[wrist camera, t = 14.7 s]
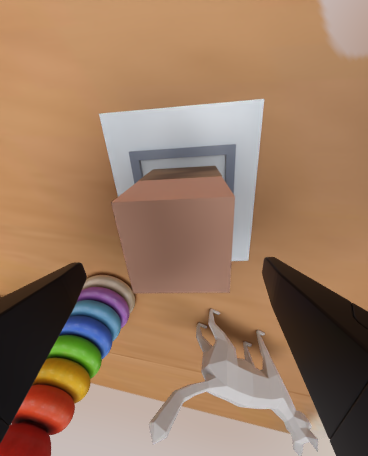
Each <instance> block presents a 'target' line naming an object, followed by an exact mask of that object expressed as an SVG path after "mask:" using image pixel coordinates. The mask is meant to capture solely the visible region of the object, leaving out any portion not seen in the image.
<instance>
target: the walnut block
mask: <svg viewBox="0 0 368 456" xmlns="http://www.w3.org/2000/svg"><path fill="white" fill-rule="evenodd" d="M217 176H222V175H221V173H220V172H219V170H218V169H217V167H216V166H200V167H183V168H167V169H153V170H151V171H150V172H149V173H147V174H146V175H145V176H144V177H142V178H141V179H140V180H139V181H144V180H162V179H180V178H198V177H217Z"/></svg>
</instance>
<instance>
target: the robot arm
mask: <svg viewBox="0 0 368 456" xmlns="http://www.w3.org/2000/svg"><path fill="white" fill-rule="evenodd" d="M262 275H263V279H264V282H265V286H266V289H267V292H268V295H269V299H270V302H271V305H272V308H273V310H274V313H275V315H276V317H277V320H278V322H279V324H280V326H281V329H282V331H283V333H284V336H285V338H286V340H287V343H288V345H289V347H290V350H291V352H292V354H293V357H294V359H295V361H296V363H297V366H298V368H299V370H300V373H301V375H302V377H303V380H304V382H305V384H306V387H307V389H308V391H309V394H310V396H311V398H312V400H313V403H314V405H315V407H316V410H317V412H318V414H319V417H320V419H321V421H322V424H323V426H324V428H325V431H326V433H327V435H328V437H329V439H330V442H331V445H332V447H333V449H334V452H335V454H336V456H368V311H366V310H364V309H362V308H361V307H359V306H357V305H356V304H354V303H351V302H350V301H349V300H347V299H345V298H344V297H342V296H340V295H338V294H337V293H335V292H333V291H331V290H330V289H328V288H326V287H325V286H323V285H321V284H319V283H318V282H316V281H314V280H313V279H311V278H309V277H307V276H306V275H304V274H302V273H301V272H299V271H297V270H295V269H294V268H292V267H290V266H288V265H287V264H285V263H283V262H282V261H280V260H278V259H276V258H275V257H266V258H265V259H264V263H263V270H262ZM86 278H87V276H86V273H85V270H84V267H83V265H82V263H71V264H69V265H67V266H65V267H63V268H61V269H59V270H57V271H55V272H53V273H51V274H48V275H46V276H44V277H42V278H40V279H38V280H36V281H34V282H32V283H30V284H28V285H26V286H24V287H22V288H20V289H18V290H16V291H14V292H12V293H10V294H8V295H6V296H4V297H2V298H0V443H1V442H2V440H3V438H4V436H5V434H6V432H7V431H8V429H9V427H10V426H9V425H11V423H12V421H13V419H14V417H15V416H16V414H17V412H18V410H19V408H20V406H21V405H22V403H23V401H24V399H25V397H26V395H27V394H28V392H29V390H30V388H31V386H32V384H33V383H34V381H35V379H36V377H37V375H38V373H39V372H40V370H41V368H42V366H43V364H44V362H45V361H46V359H47V357H48V355H49V353H50V351H51V350H52V348H53V346H54V344H55V342H56V340H57V339H58V337H59V335H60V333H61V331H62V329H63V328H64V326H65V324H66V322H67V320H68V318H69V317H70V315H71V313H72V311H73V309H74V307H75V305H76V303H77V300H78V298H79V296H80V293H81V291H82V289H83V286H84V284H85V282H86Z"/></svg>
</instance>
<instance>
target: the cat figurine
mask: <svg viewBox="0 0 368 456" xmlns="http://www.w3.org/2000/svg"><path fill="white" fill-rule="evenodd" d="M213 313H215V314H218V315H219V314H220V312H218V311H216V310H214V309H210V311H209V321H208V324H209V326H210V328H211V331H212V333H213V335H214V337H215V339H216V341H215V344H214V345H213V347H212V345H211V344H210V343H209V342H208V341H207V340H206V339H205V338H204V337H203V336H202V333H201V329H200V326H201V327H203V328H207V326H206V325H204V324H201V323H198V324H197V330H196V338H197V340H198V342H199V345H200V347H201V349H202V351H203V360H202V370H201V371H202V374H203V376H204V379H205V382H200V383H195V384H190V385H187V386H184V387H182V388H180V389H178V390H175V391H174V392H173V393H172V394H171V395H170V397H169V398H168V399H167V400H166V402H165V403H164V404H163V405H162V407H161V408H160V409H159V411H158V412H157V413H156V415H155V416H154V417H153V419H152V420H151V422H150V423H149V428H150V432H151V437H152V442H153V444H155V443H157V442H159V441H161V440H163V439H165V438H167V436H168V434H169V431H170V429H171V427H172V425H173V423H174V421H175V419H176V417H177V415H178V412H179V410H180V408H181V406H182V404H183V403H184V402H185V401H187V400H188V399H190V398H191V397H193V396H195V395H198V394H201V393H203V392H208V393H210V394H212V395H214V396H217V397H219V398H221V399H224V400H226V401H228V402H230V403H232V404H234V405H236V406H238V407H246V408H255V409H272V410H273V411H274V412H275V413H276V414H277V415H278V416H279V417H280V418H281V419H282V420H283V421H284V423H285V426H286V428H287V430H288V431H289V432H290V433H291V436H292V440H293V449H294V450H295V452H296V453H297V454H298V455H299V456H302V450H303V444H305V443H307V442H310V443H311V444H312V445H313V447H314V448H315V449H316V451H318V439H317V438H316V437H315V436H314V434H313V433H312V432H311V431H310V429H311V427H312V426H311V424H310V422H309V420H308V419H307V417H306V416H305V415H304V414H303V413H302V412H300V411H296V409H295V407H294V404H293V402H292V400H291V398H290V395H289V393H288V391H287V389H286V387H285V385H284V383H283V381H282V379H281V377H280V375H279V373H278V371H277V369H276V367H275V365H274V363H273V361H272V359H271V357H270V354H269V352H268V350H267V348H266V346H265V344H264V342H263V340H262V337H261V335H265V333H264V332H262V331H259V330H257V331H256V334H257V339H258V344H259V348H260V352H261V355H262V357H263V370H259V369H257V368H256V367H255V366H254V363H253V361H252V358H251V356H250V353H249V350H248V348H247V346H251V345H252V344H250V343H248V342H246V341H245V342H243V347H244V355H245V360H244V359H240V358H237V356H236V349H235V347H234V346H233V344H232V343H231V341H230V340H229V338H228V337H227V336H226V334H225V333H224V332H223V331H222V330H221V329H220V328H219V327H218V326H217V325H216V324H215V322H214V316H213Z"/></svg>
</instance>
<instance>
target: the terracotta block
mask: <svg viewBox="0 0 368 456" xmlns="http://www.w3.org/2000/svg"><path fill="white" fill-rule="evenodd" d="M111 204H112V209H113V213H114V217H115V221H116V225H117V229H118V233H119V237H120V241H121V245H122V249H123V253H124V257H125V262H126V266H127V270H128V274H129V278H130V282H131V286H132V290H133V293H230V278H231V260H232V243H233V225H234V207H235V196H234V194H233V193H232V191H231V190H230V188H229V187H228V185H227V184H226V182H225V181H224V179H223V178H222V176H217V177H198V178H180V179H162V180H144V181H138V182H136V183H135V184H134V185H133V186H131V187H130V188H129V189H128V190H126V191H125V192H124V193H122V194H121V195H120V196H119V197H117V198H116V199H115V200H113V201H112V202H111Z"/></svg>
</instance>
